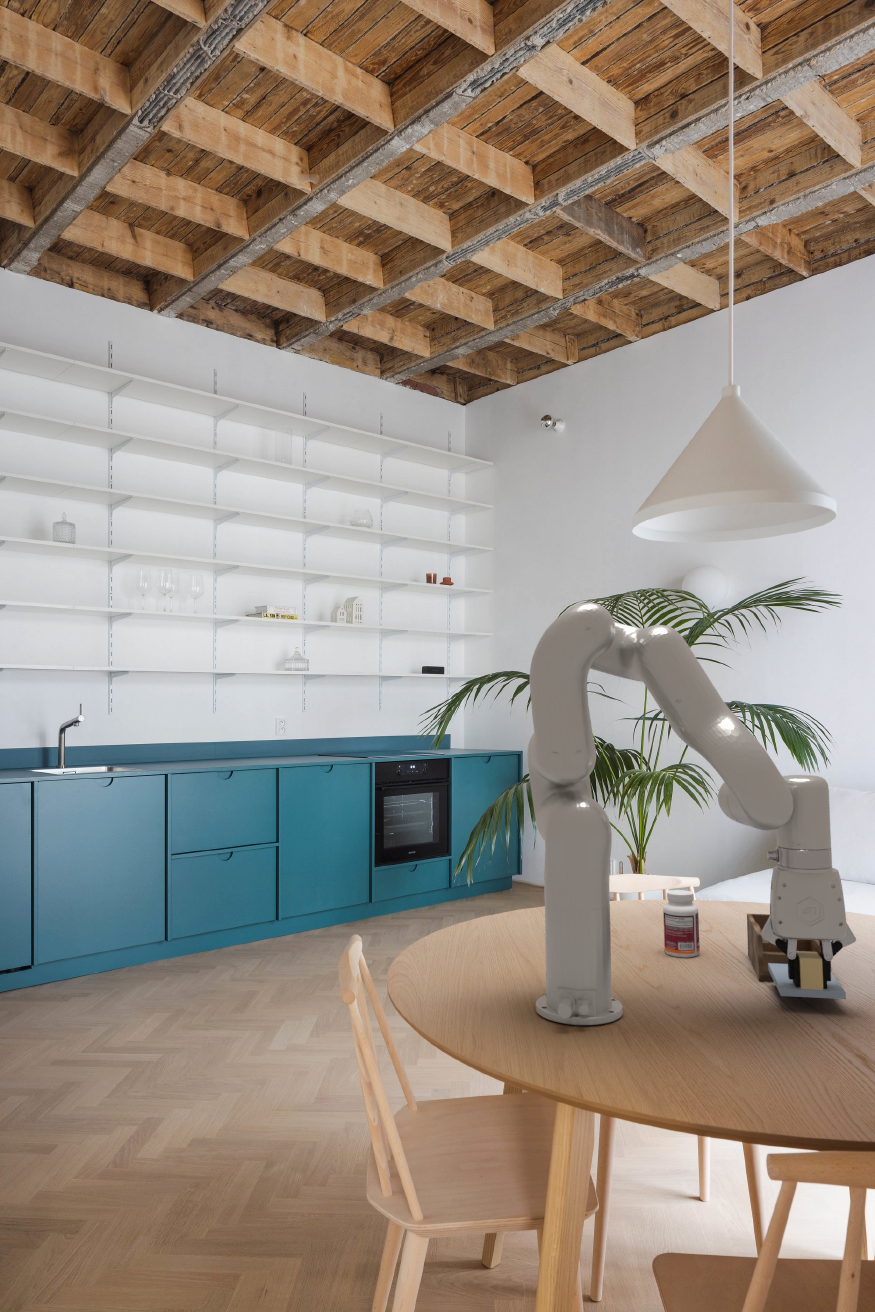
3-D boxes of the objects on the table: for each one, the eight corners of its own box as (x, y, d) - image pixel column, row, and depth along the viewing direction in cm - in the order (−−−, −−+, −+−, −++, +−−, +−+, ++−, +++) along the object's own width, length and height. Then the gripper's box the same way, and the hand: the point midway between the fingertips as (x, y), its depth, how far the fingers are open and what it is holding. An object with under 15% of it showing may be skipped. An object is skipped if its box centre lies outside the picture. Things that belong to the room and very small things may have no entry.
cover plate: (845, 999, 130) (844, 960, 130) (780, 996, 132) (779, 958, 132) (826, 972, 143) (825, 937, 143) (768, 969, 145) (766, 935, 145)
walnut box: (831, 985, 144) (830, 938, 145) (759, 981, 147) (757, 935, 147) (813, 958, 160) (811, 916, 160) (748, 955, 162) (746, 913, 163)
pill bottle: (678, 947, 168) (676, 887, 169) (706, 954, 163) (705, 892, 164) (657, 953, 164) (655, 892, 165) (686, 960, 159) (684, 897, 160)
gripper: (749, 862, 133) (754, 990, 131) (869, 864, 129) (876, 996, 128) (744, 854, 140) (748, 975, 139) (857, 856, 136) (863, 980, 135)
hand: (809, 984), depth 133 cm, fingers closed on cover plate, 3 cm apart
